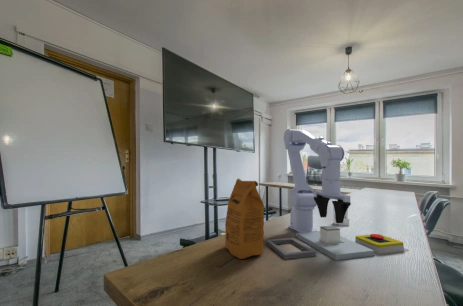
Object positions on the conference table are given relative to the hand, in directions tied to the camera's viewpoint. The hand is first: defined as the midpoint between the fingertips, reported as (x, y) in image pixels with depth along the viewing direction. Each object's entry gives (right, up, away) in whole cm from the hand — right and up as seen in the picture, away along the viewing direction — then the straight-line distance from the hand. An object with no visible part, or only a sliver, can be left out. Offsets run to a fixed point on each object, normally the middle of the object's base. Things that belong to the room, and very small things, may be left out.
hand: (330, 219), depth 73 cm
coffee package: (-31, -8, -7) cm, 32 cm away
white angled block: (+18, -11, +27) cm, 34 cm away
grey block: (-1, -9, -1) cm, 9 cm away
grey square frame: (-16, -8, -5) cm, 18 cm away
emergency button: (+16, -10, -1) cm, 19 cm away
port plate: (0, -9, -1) cm, 9 cm away
